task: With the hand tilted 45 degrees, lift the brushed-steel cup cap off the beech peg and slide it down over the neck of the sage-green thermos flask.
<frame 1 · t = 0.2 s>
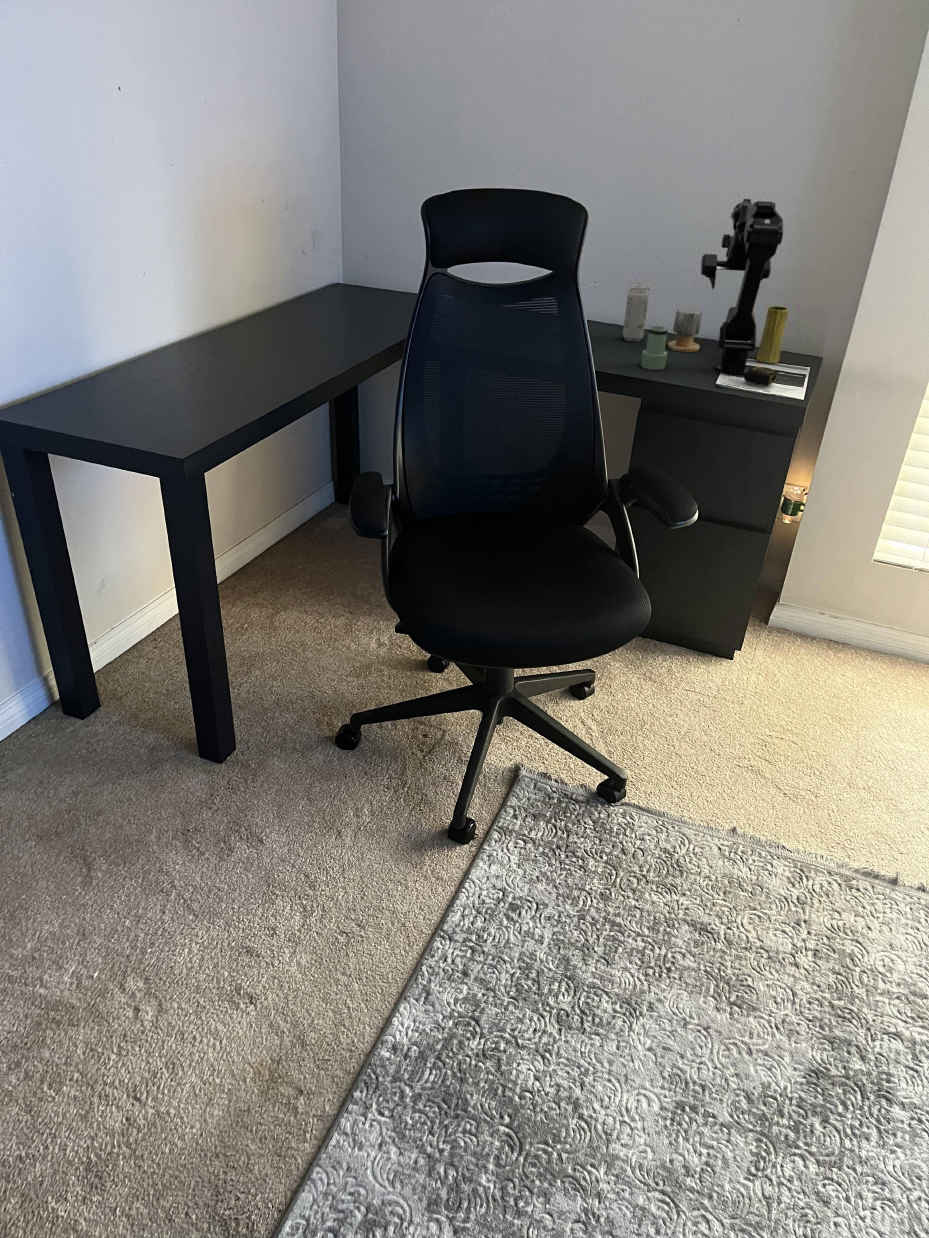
hand: (729, 288, 254), 15 cm above the table, tool tilted 35°, fingers open, 9 cm apart
peg: (683, 347, 255), on the table
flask: (653, 366, 238), on the table
cap: (685, 331, 253), point 4 cm above the table, touching peg
vase: (767, 361, 246), on the table
tape measure: (759, 385, 227), on the table
energy drink can: (632, 340, 261), on the table
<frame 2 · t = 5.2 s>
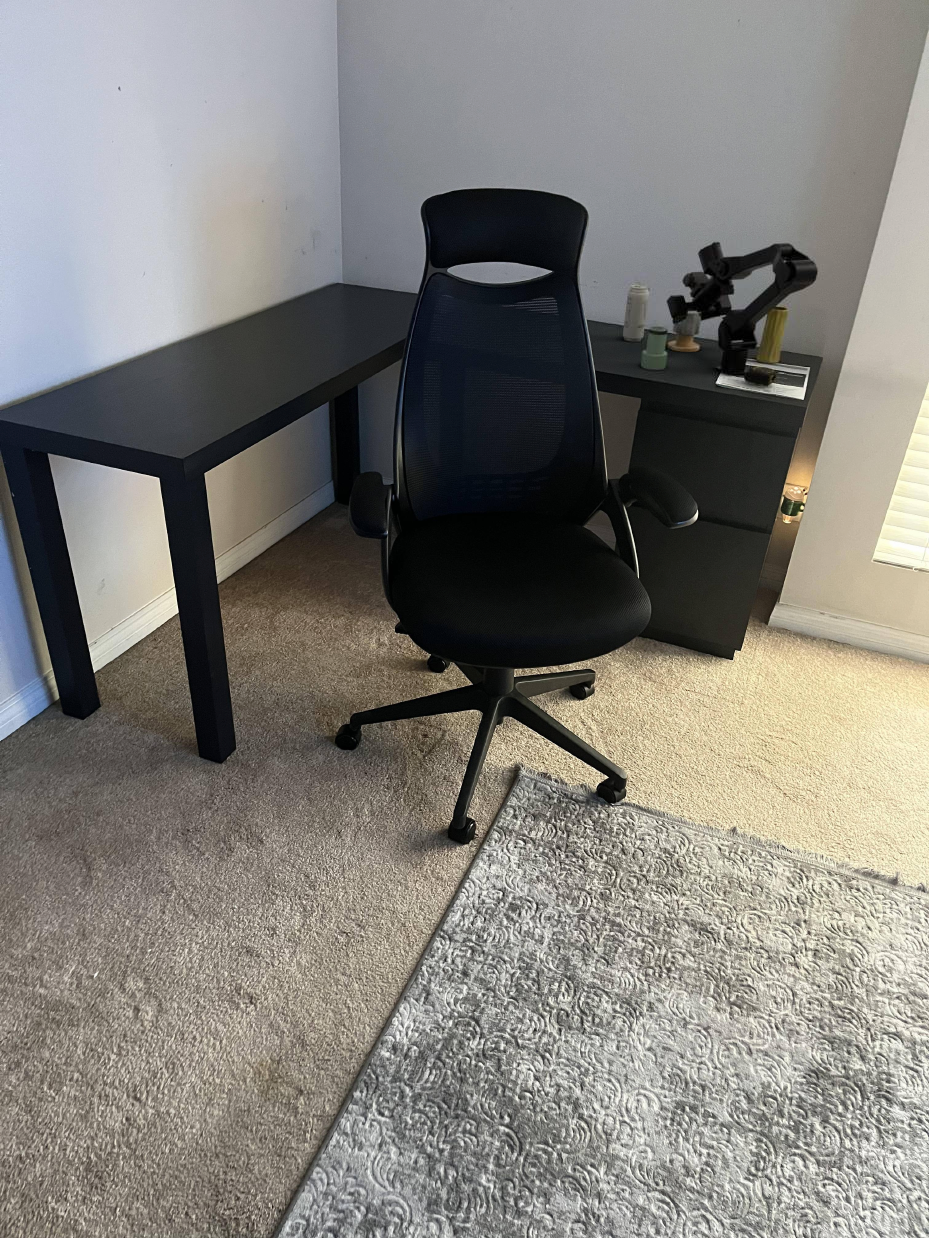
hand: (684, 321, 252), 7 cm above the table, tool tilted 45°, fingers closed on cap, 7 cm apart
cap: (685, 331, 253), point 5 cm above the table, touching gripper, peg
everything else where it was.
when the fingers open (7 cm above the table, at t = 14.6 s): cap stays where it is, resting on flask.
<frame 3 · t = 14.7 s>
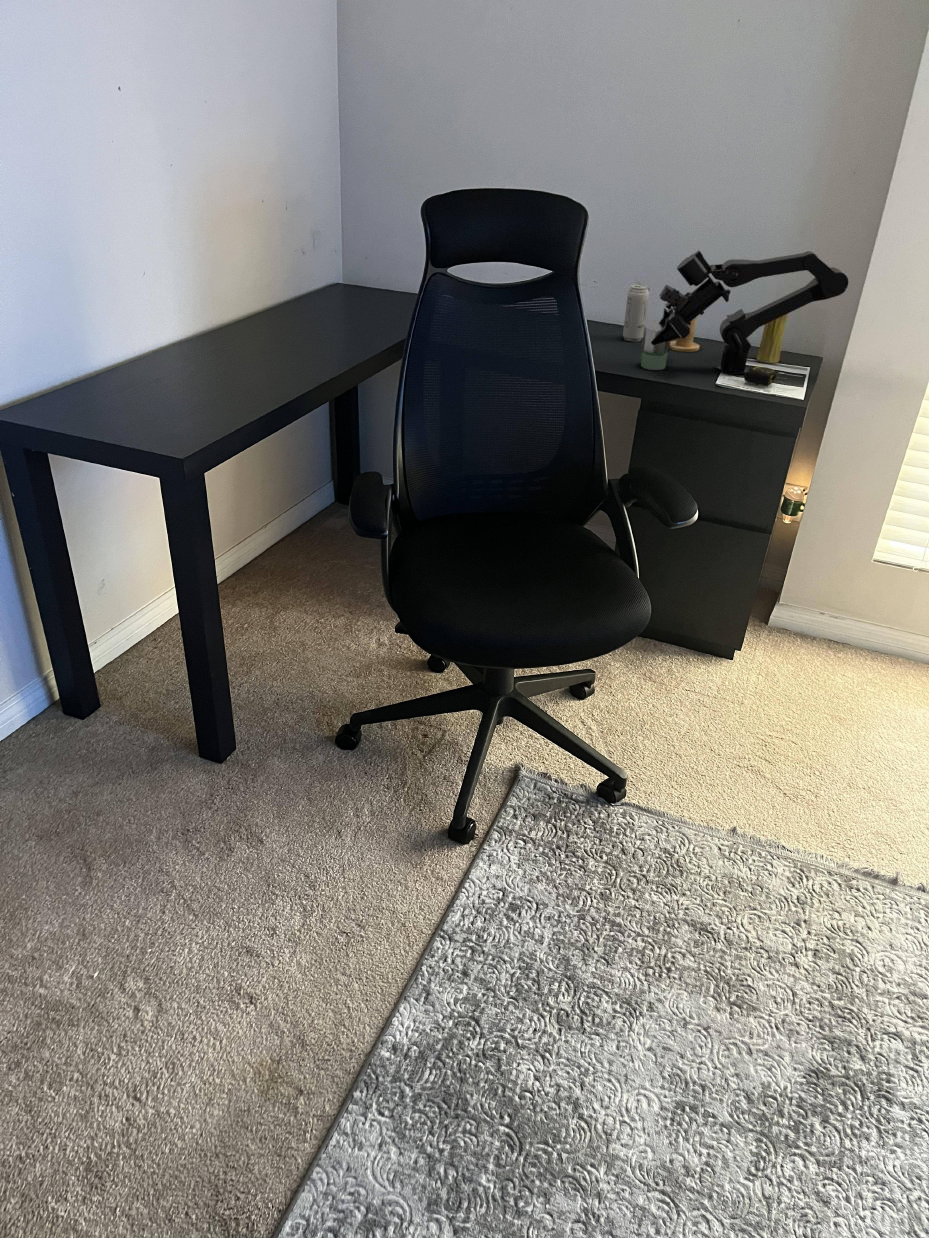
hand: (651, 340, 235), 7 cm above the table, tool tilted 45°, fingers open, 7 cm apart
cap: (655, 349, 236), point 5 cm above the table, touching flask
everything else where it was.
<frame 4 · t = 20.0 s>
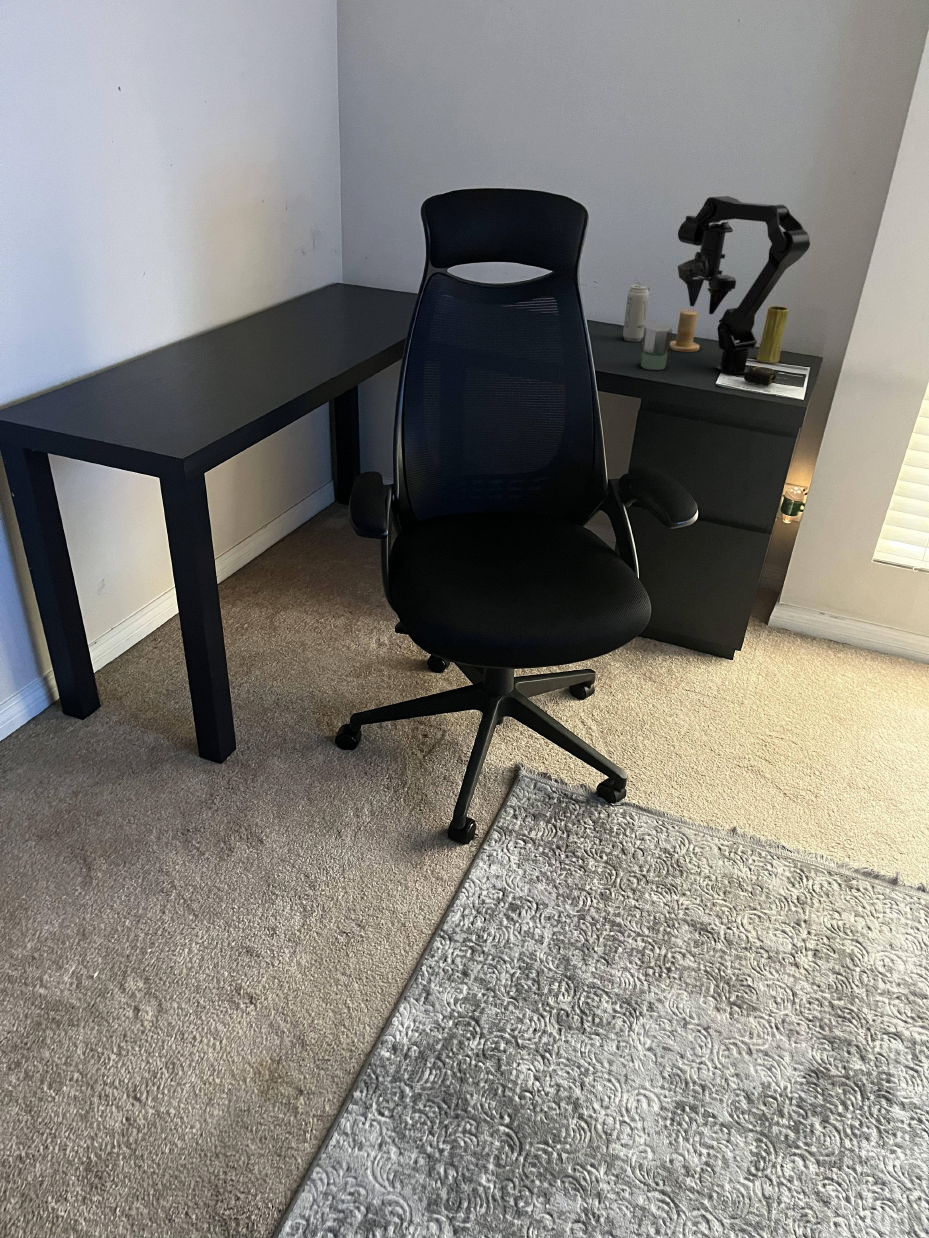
hand: (701, 310, 239), 13 cm above the table, tool pointing down, fingers open, 9 cm apart
nothing on the table moved.
at the end: cap 0.1 cm off-centre on the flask, point 4.5 cm above the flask's base; cap tilted 0°; the gripper is holding nothing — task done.
